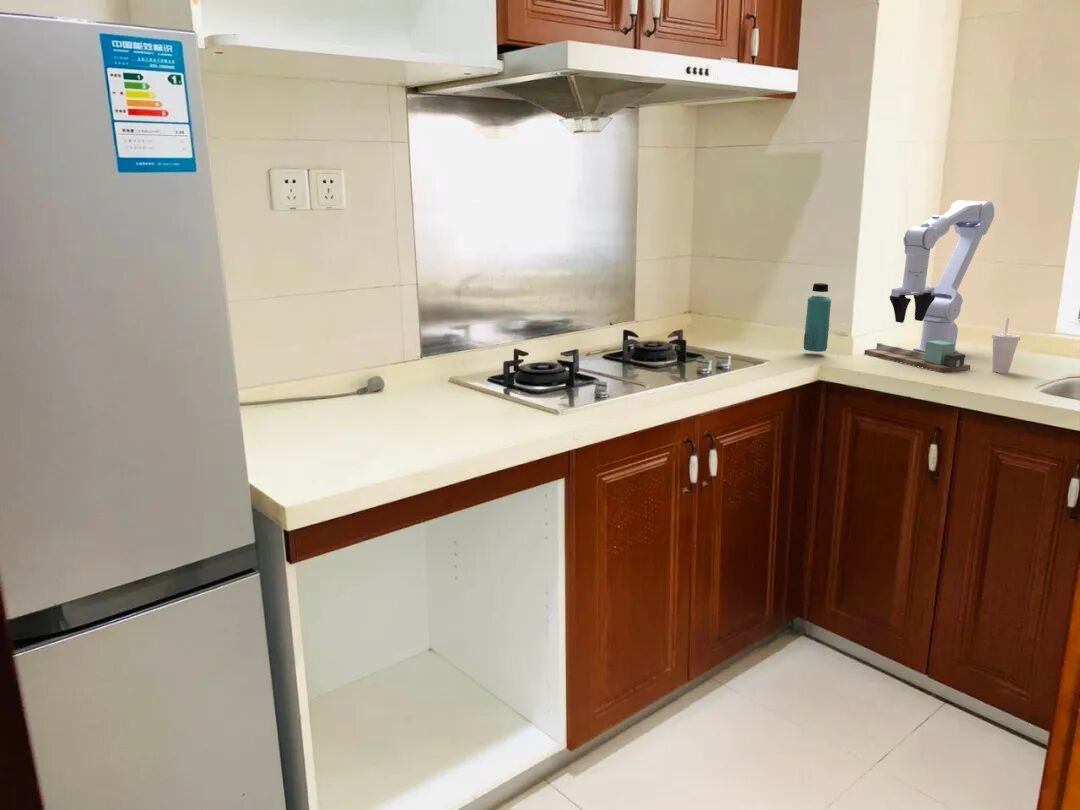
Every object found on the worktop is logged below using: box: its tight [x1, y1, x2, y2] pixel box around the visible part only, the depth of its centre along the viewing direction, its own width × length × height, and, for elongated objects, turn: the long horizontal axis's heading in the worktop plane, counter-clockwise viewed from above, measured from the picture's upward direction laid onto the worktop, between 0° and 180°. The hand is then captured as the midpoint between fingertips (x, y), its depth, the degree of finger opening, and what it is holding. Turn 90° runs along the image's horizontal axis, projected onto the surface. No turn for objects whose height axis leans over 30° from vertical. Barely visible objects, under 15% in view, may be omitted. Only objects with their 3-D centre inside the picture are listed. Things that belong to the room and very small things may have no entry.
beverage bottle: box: [803, 282, 832, 353], centre depth 229 cm, size 6×7×20 cm
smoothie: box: [991, 317, 1021, 374], centre depth 211 cm, size 6×6×14 cm
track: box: [863, 342, 972, 374], centre depth 223 cm, size 26×10×4 cm, turn 26°
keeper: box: [924, 340, 955, 364], centre depth 217 cm, size 5×4×5 cm
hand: (909, 321), depth 228 cm, fingers open, 7 cm apart
